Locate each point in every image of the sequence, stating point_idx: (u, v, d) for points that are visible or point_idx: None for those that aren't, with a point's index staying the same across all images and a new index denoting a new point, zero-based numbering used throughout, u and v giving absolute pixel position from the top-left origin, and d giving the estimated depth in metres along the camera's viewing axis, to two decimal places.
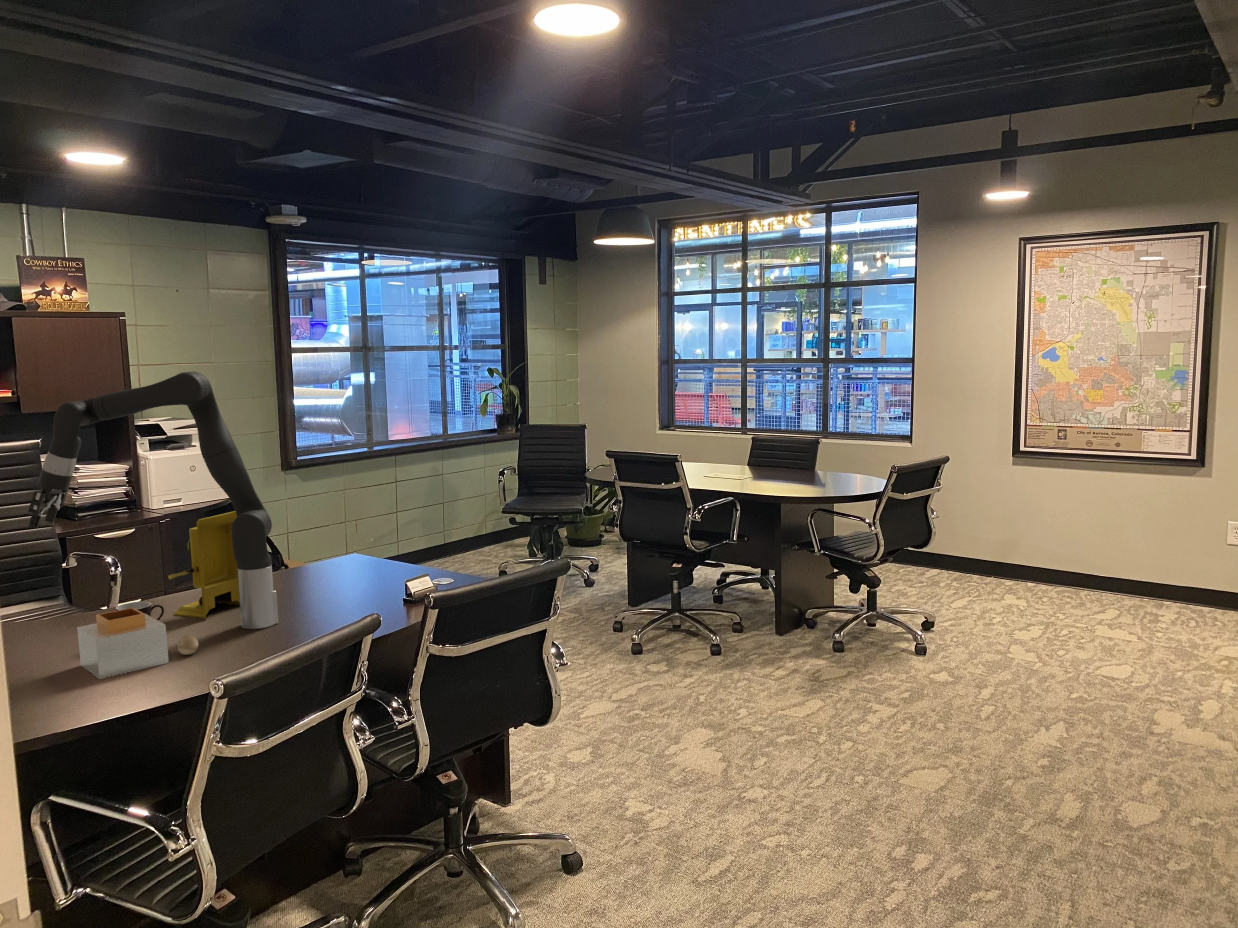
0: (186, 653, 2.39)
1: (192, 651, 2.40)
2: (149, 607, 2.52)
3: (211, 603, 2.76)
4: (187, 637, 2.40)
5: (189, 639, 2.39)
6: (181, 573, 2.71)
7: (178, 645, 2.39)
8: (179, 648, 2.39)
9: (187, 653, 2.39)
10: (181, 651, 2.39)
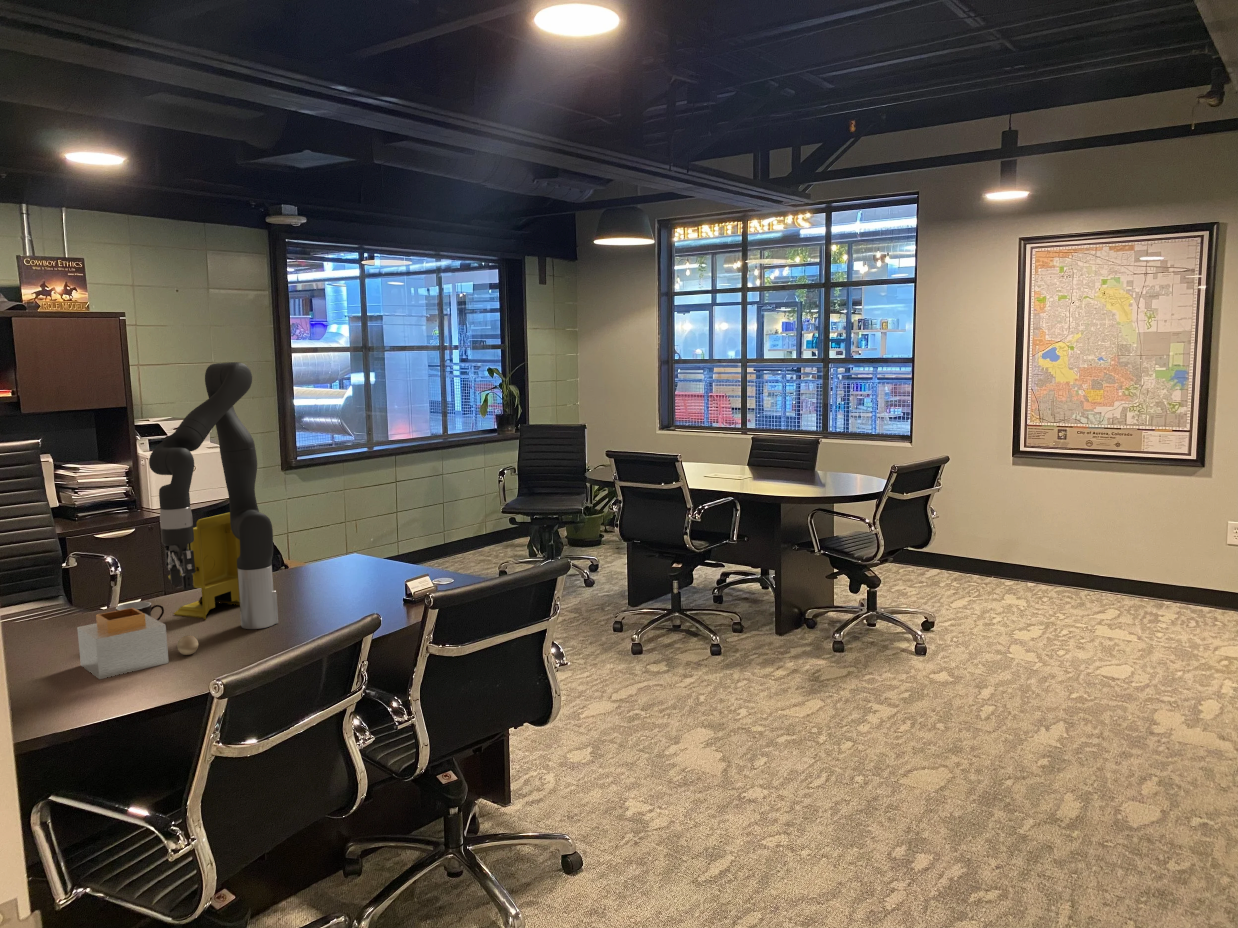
0: (186, 653, 2.39)
1: (192, 651, 2.40)
2: (149, 607, 2.52)
3: (211, 603, 2.76)
4: (187, 637, 2.40)
5: (189, 639, 2.39)
6: None
7: (178, 645, 2.39)
8: (179, 648, 2.39)
9: (187, 653, 2.39)
10: (181, 651, 2.39)
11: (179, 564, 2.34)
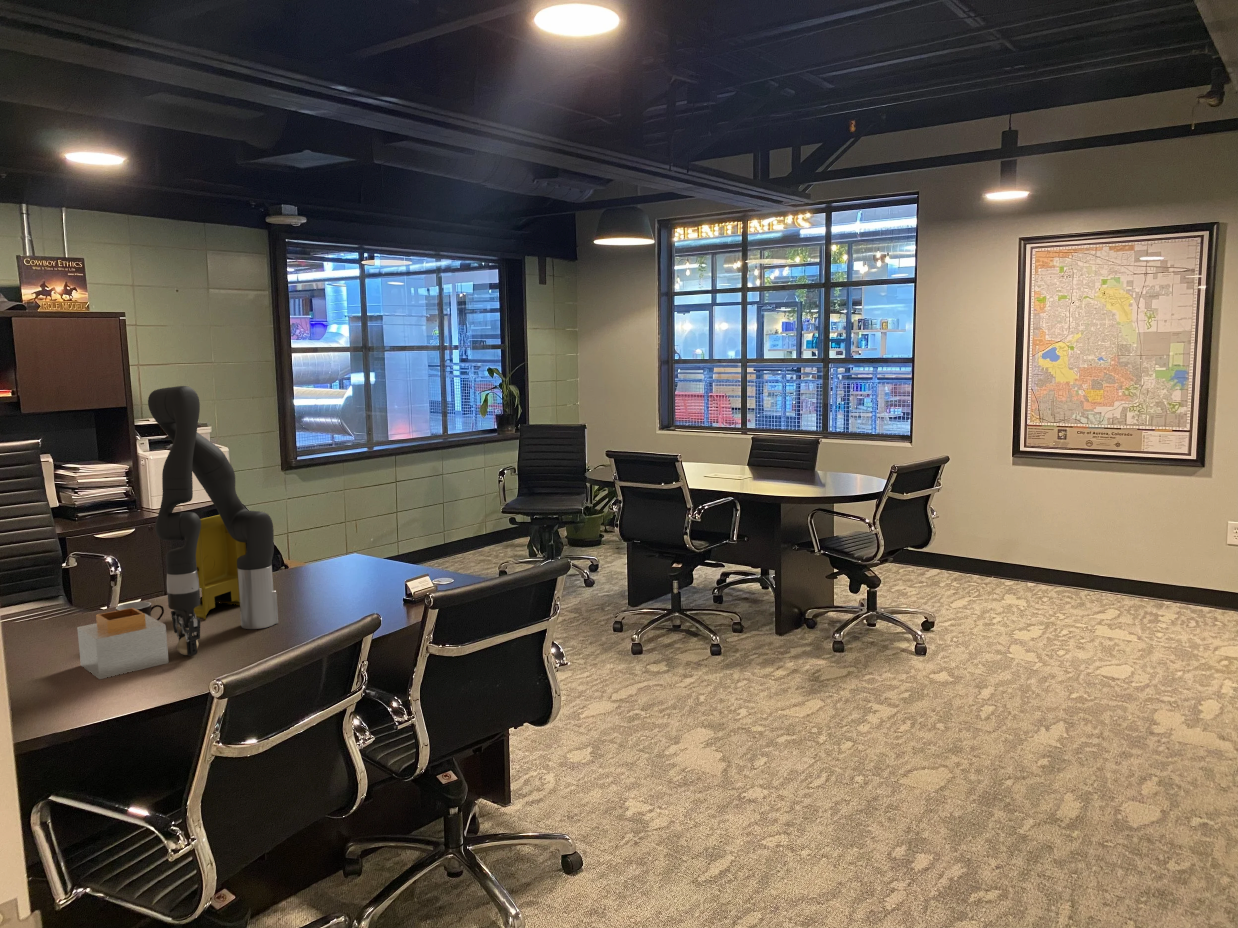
0: (186, 653, 2.39)
1: None
2: (149, 607, 2.52)
3: (211, 603, 2.76)
4: None
5: None
6: None
7: (178, 645, 2.39)
8: (179, 648, 2.39)
9: None
10: (181, 651, 2.39)
11: (185, 630, 2.37)
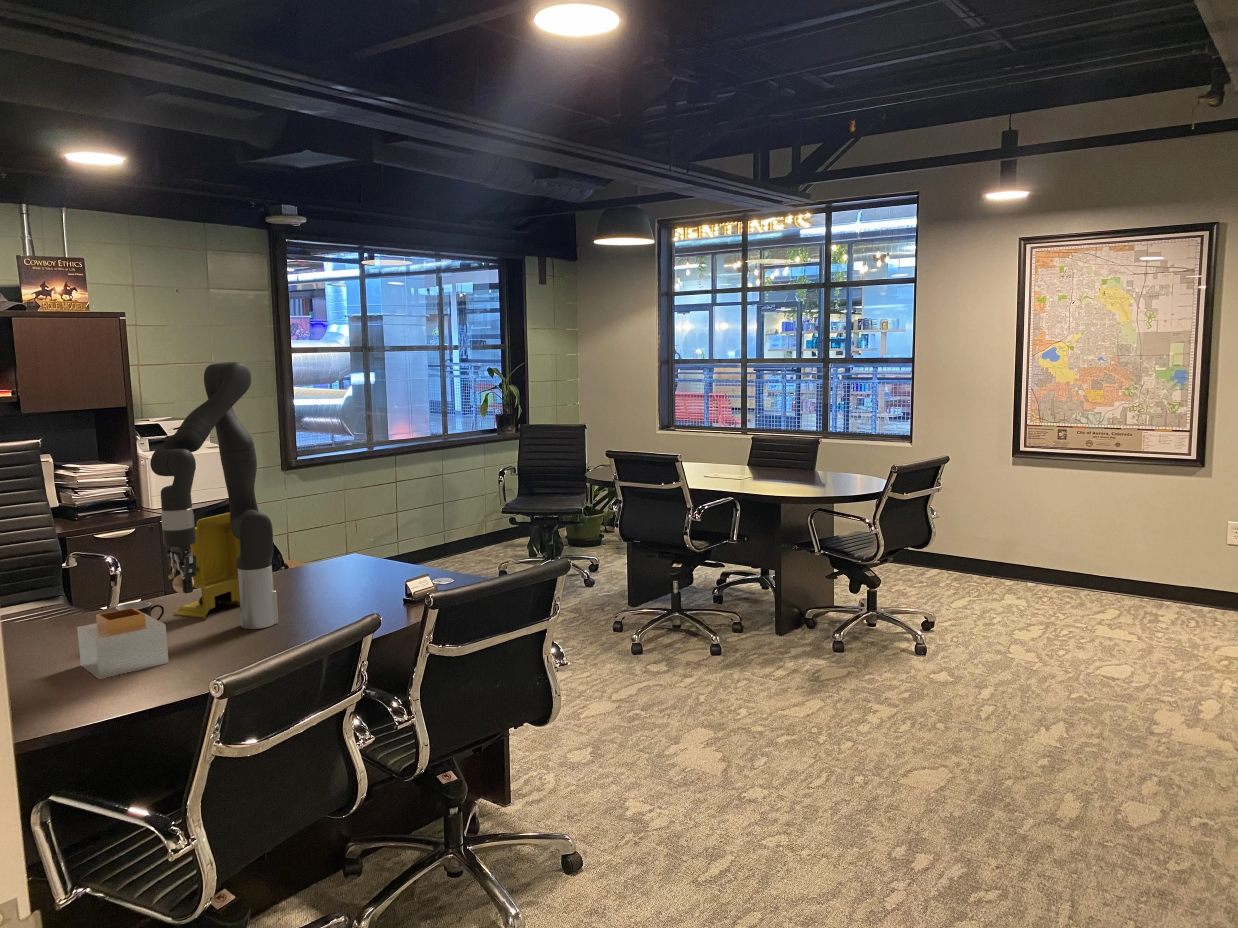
0: (182, 591, 2.37)
1: None
2: (149, 607, 2.52)
3: (211, 603, 2.76)
4: None
5: None
6: None
7: (173, 583, 2.37)
8: (174, 586, 2.37)
9: (182, 591, 2.37)
10: (177, 589, 2.37)
11: (180, 567, 2.35)
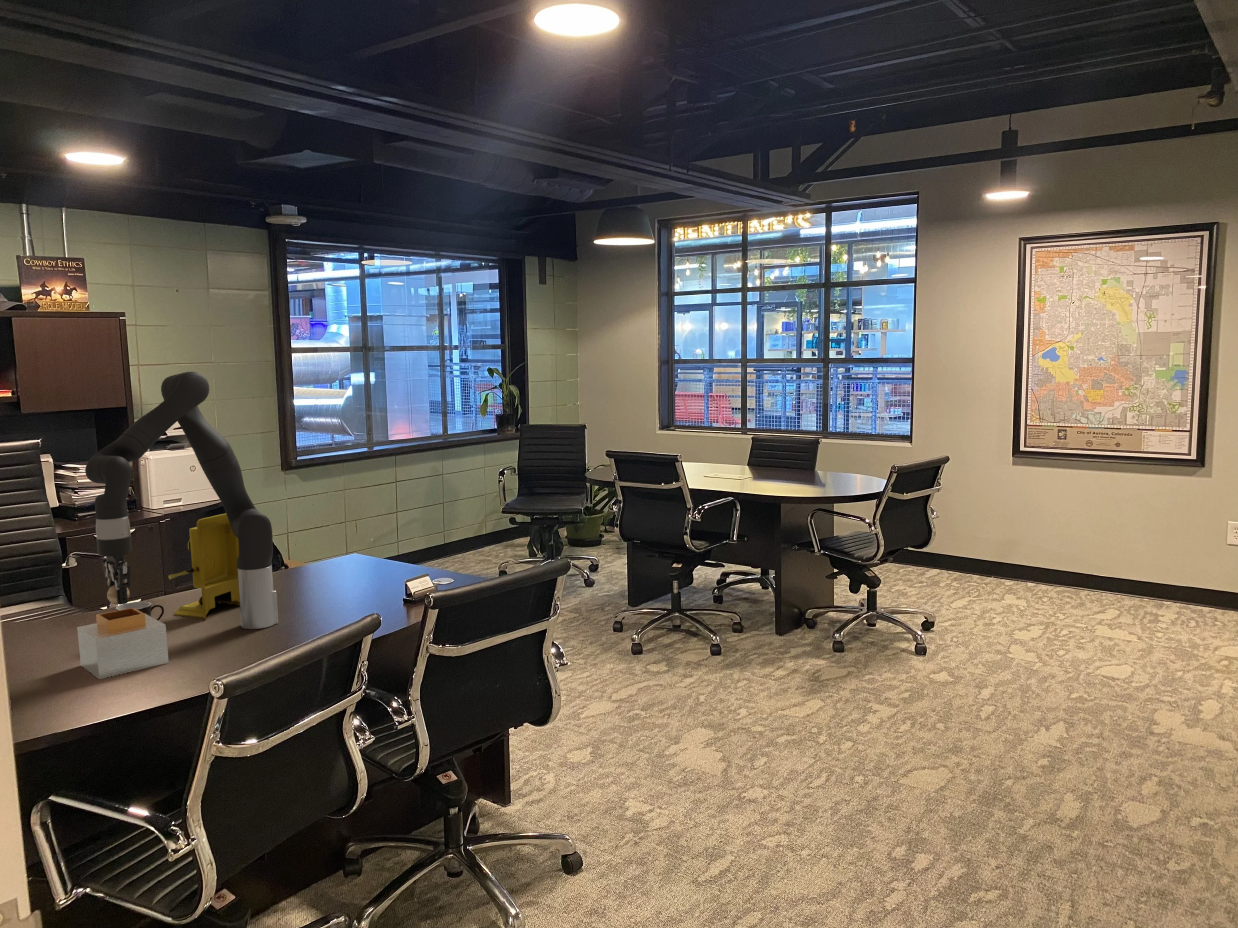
0: (116, 602, 2.31)
1: None
2: (149, 607, 2.52)
3: (211, 603, 2.76)
4: None
5: None
6: (181, 573, 2.71)
7: (108, 594, 2.30)
8: (109, 597, 2.30)
9: None
10: (111, 600, 2.30)
11: (114, 577, 2.29)
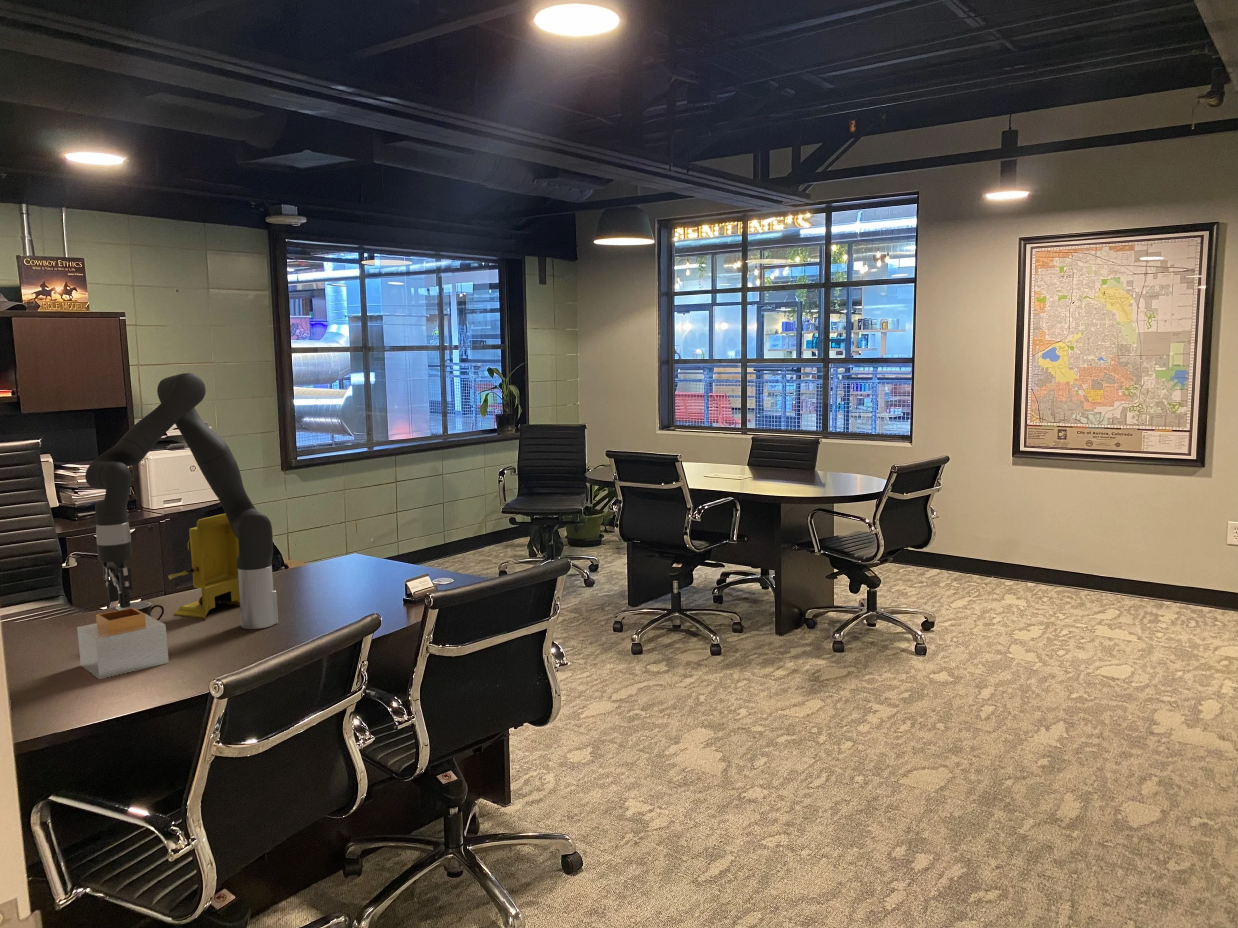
0: None
1: None
2: (149, 607, 2.52)
3: (211, 603, 2.76)
4: None
5: None
6: (181, 573, 2.71)
7: None
8: None
9: None
10: None
11: (116, 581, 2.28)
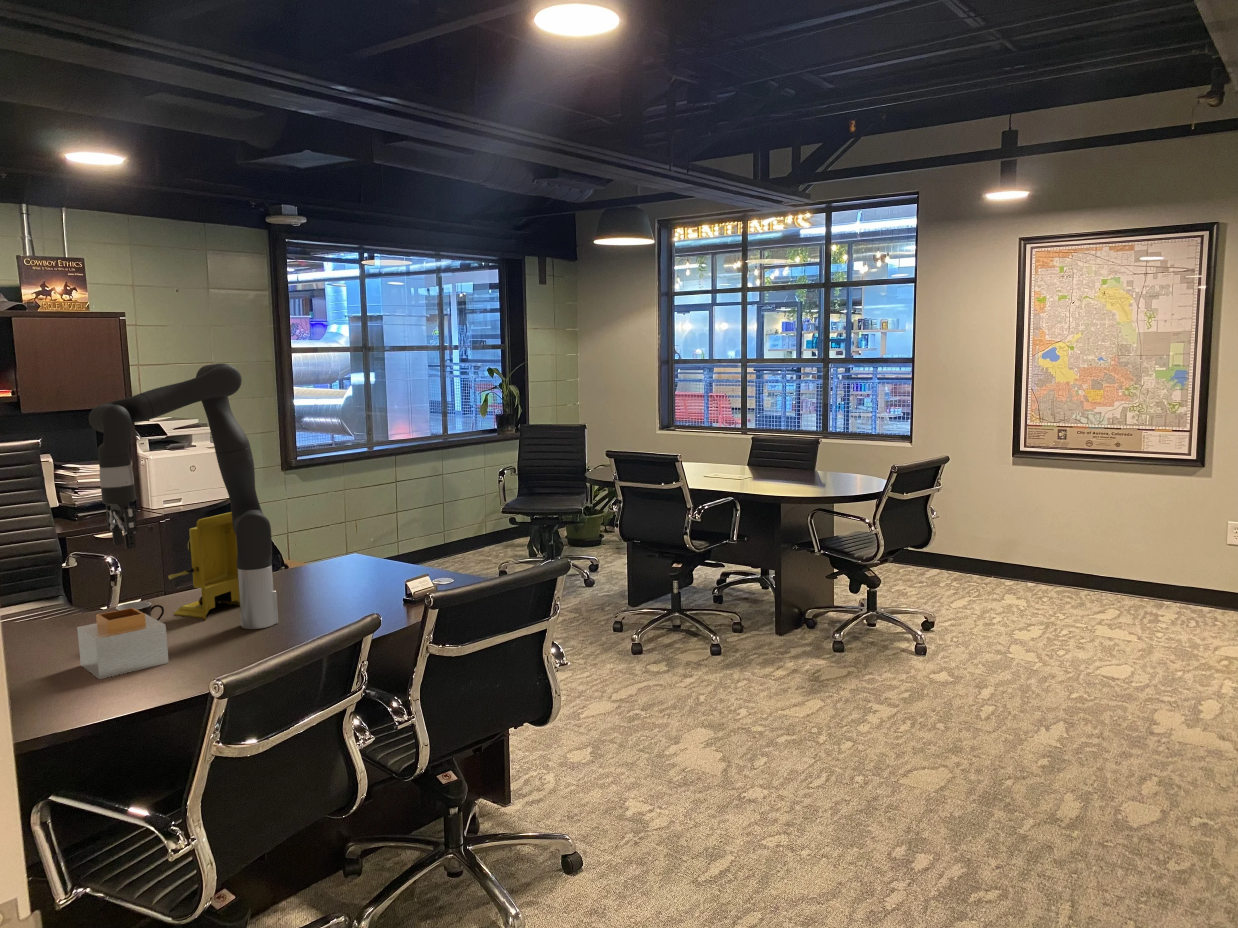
0: None
1: None
2: (149, 607, 2.52)
3: (211, 603, 2.76)
4: None
5: None
6: (181, 573, 2.71)
7: None
8: None
9: None
10: None
11: (121, 523, 2.31)
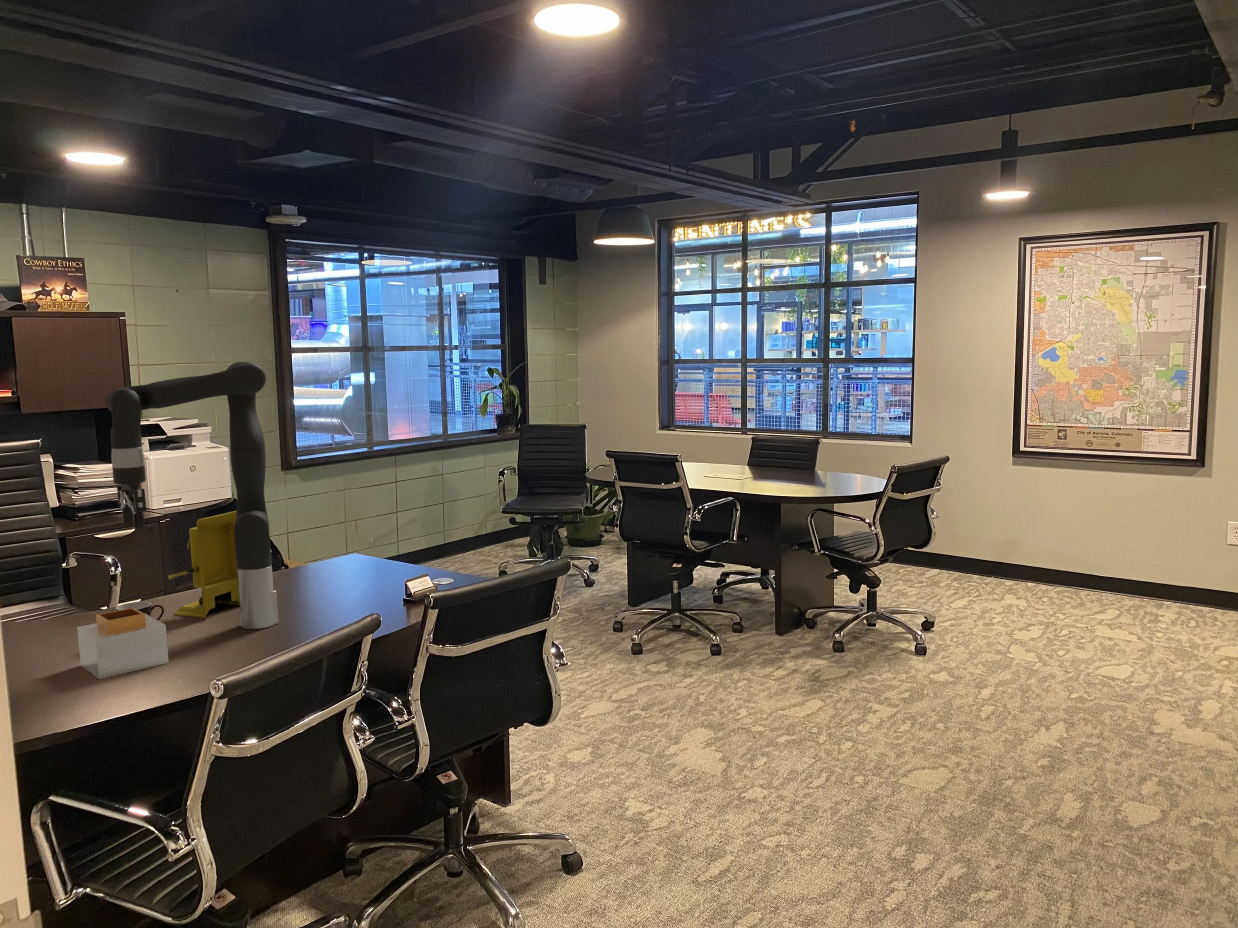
0: None
1: None
2: (149, 607, 2.52)
3: (211, 603, 2.76)
4: None
5: None
6: (181, 573, 2.71)
7: None
8: None
9: None
10: None
11: (130, 503, 2.39)
